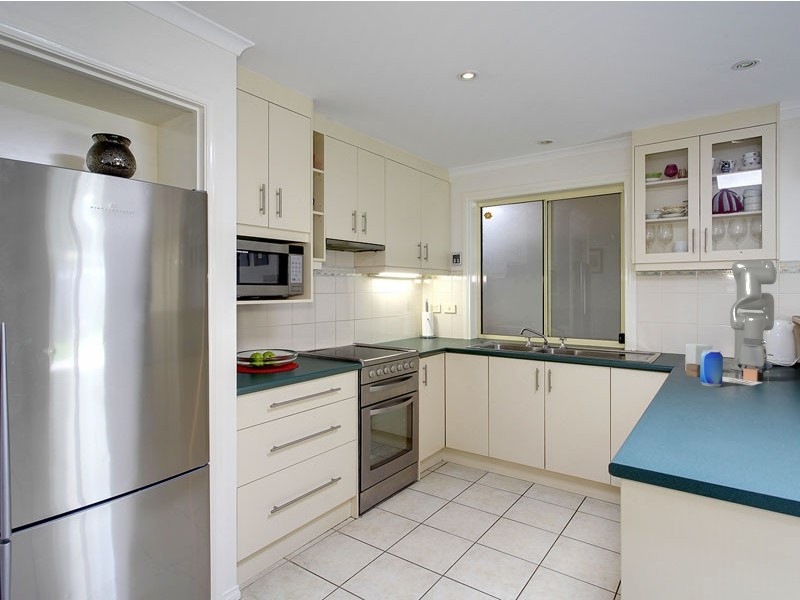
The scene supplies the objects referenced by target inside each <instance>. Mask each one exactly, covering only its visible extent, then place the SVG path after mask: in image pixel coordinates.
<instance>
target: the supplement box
mask: <svg viewBox="0 0 800 600" xmlns="http://www.w3.org/2000/svg"><path fill="white" fill-rule="evenodd" d="M703 350H713V345H710V344H705V343H685V359H684V360H685V361H684V362H685V366H684V367H685V369H684V370H685V372H686V364H699V365H700V364H701V354H702V352H703Z"/></svg>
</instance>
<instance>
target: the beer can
mask: <svg viewBox="0 0 800 600" xmlns="http://www.w3.org/2000/svg"><path fill="white" fill-rule="evenodd" d="M723 360H724V356H723V355H722V353H721V350H717V349H716V350H715V349H712V350H703V352H702V354H701V364H700V377H699V382H700V384H701V385H702V386H706V387H710V388H711V387H713V388H718V387H719V388H720V387H721V386H722V385H723V381H722V377H723V370H724V369H723V367H724V366H723V365H724V361H723Z"/></svg>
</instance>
